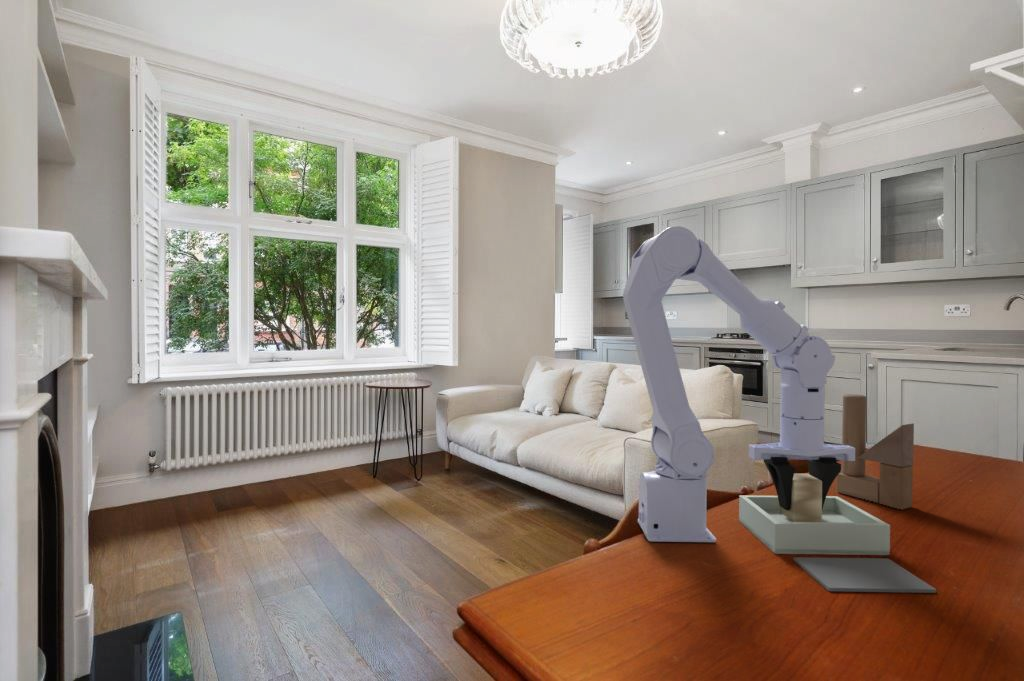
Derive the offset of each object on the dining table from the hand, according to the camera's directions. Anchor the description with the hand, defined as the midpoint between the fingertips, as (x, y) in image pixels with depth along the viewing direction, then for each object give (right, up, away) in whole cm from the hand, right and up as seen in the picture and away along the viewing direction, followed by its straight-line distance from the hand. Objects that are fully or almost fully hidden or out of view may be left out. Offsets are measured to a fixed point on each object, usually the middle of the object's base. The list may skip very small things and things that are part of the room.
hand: (800, 507), depth 78 cm
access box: (0, -4, -2) cm, 4 cm away
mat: (-1, -4, -14) cm, 15 cm away
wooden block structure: (+20, -3, +14) cm, 25 cm away
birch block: (0, -1, 0) cm, 1 cm away
